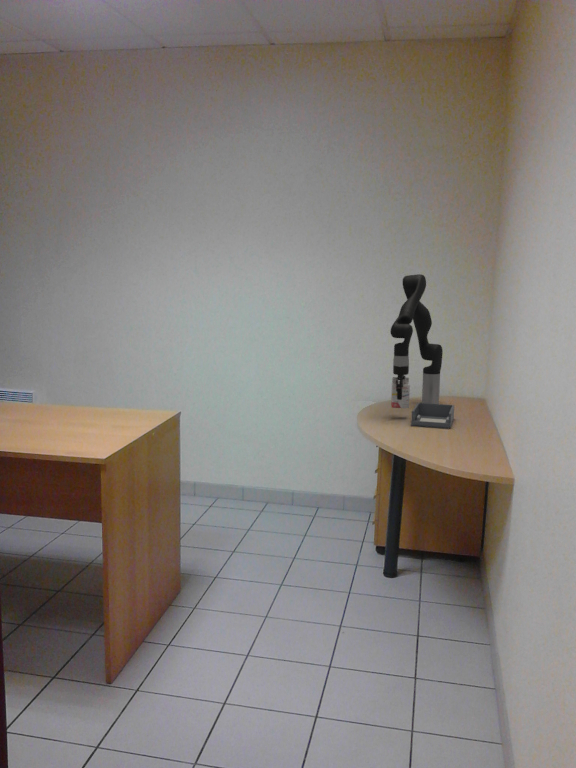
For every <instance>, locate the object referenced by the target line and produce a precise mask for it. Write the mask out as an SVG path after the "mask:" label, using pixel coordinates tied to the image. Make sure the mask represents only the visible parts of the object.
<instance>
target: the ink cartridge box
mask: <svg viewBox="0 0 576 768" xmlns="http://www.w3.org/2000/svg"><path fill="white" fill-rule="evenodd" d="M397 377H398V376H396V377H395V376H394V377H392V379H391V380H392V383H391V398H390V399H391V404H390V405H391V408H392V409H394V408H395V409H410V391H411V390H410V387H411V385H410V383H409V380H410V378H409V377H406V376H405V377H404V378H405V384H404V385H403V388H402V399H401V400H398V399H397V391H396V378H397ZM398 389H400V387H398Z"/></svg>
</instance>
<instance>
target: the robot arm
mask: <svg viewBox="0 0 576 768" xmlns="http://www.w3.org/2000/svg"><path fill="white" fill-rule="evenodd" d="M426 287H427V280H426V276H425V275H424V274H409V275H405V276H404V277H403V278H402V288H403V291H404V295H405V297H406V300H405V302H404V303H403V304H402V305H401V307H400V310H399V314H398V316H397V318H396V319H395V321H394V322H393V323H392V325H391V327H390V335H391V337H392V338H394V339H403V341H402V342H397V343H395V344H394V346H393V359H392V361H393V363H392V365H393V367H392V369H393V370H392V374H393V375H396V377H397V378H396V391H397V399H398V400H401V399H402V388H403V385H404V384H405V378H404V377H406V376H407V375H409V371H410V370H409V369H410V359H409V358H410V355H409V353H410V352H409V348H410V343H411V339H412V336H413V332H414V329H413V326H412V325H411V323H412V322H413V324H414V328H415V332H416V337H417V341H418V346H419V354H420V356H421V359H422V360H425V361H430V362H431V364H430V365H428V366H424V367H422V369H423V370H422V385H421V386H422V388H421V389H422V390H421V391H422V392H421V403H430V404H440V389H441V388H440V387H441V386H440V385H441V369H442V363H443V362H442V361H443V355H444V354H443V352H444V351H443V347H442V345H441V344H438V343H429V339H428V334H429V332H430V331H431V327H432V324H433V321H432V317H431V316H432V315H431V312H430V311H429V309H428V308H427V306H425V305H424V304H423V303H422V302H421V299H422V297H423V295H424V293H425V291H426ZM398 387H400V389H398Z"/></svg>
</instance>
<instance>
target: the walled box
mask: <svg viewBox="0 0 576 768" xmlns="http://www.w3.org/2000/svg"><path fill="white" fill-rule="evenodd" d="M454 419H455V405H454V404H447V403H445V404H443V403H439V404H430V403H422V402H417V403H416V404H415V406H414V408H413V409H412V410H411V421H410V427H419V428H431V429H444V428H449V429H448V430H451V428H452V425H453V423H452V422H454Z"/></svg>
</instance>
